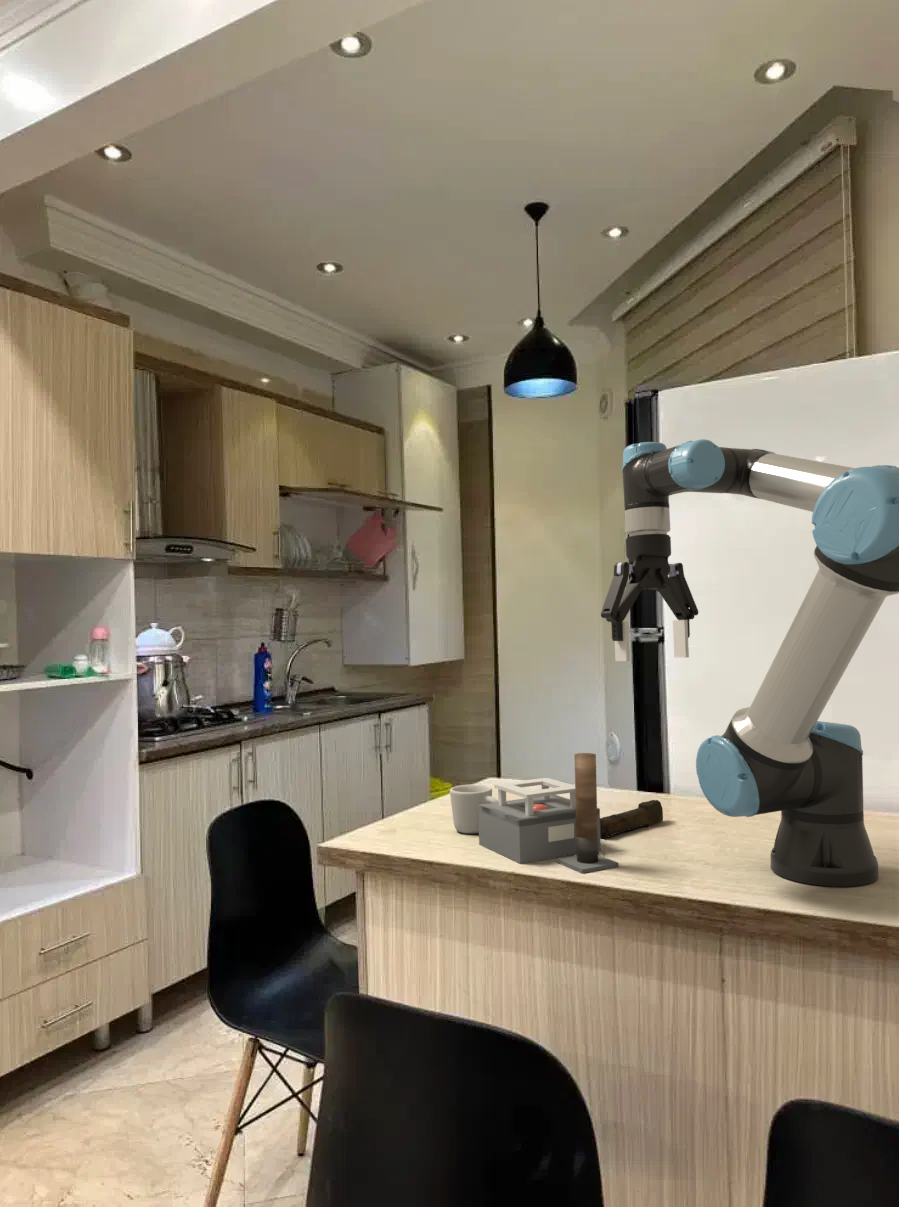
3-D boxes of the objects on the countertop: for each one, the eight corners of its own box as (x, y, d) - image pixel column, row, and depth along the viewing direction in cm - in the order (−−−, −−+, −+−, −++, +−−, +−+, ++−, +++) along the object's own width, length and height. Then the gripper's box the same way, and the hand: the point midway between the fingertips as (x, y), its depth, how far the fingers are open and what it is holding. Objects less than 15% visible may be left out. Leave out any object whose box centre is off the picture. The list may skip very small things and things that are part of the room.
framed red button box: (601, 850, 149) (599, 787, 149) (520, 864, 142) (519, 798, 142) (555, 832, 162) (553, 775, 162) (479, 844, 155) (477, 784, 155)
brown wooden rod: (602, 861, 140) (600, 755, 140) (585, 864, 139) (582, 757, 139) (590, 856, 143) (587, 752, 143) (572, 859, 142) (570, 754, 142)
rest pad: (618, 866, 139) (618, 862, 139) (582, 873, 136) (582, 869, 136) (592, 856, 145) (592, 852, 146) (557, 862, 142) (557, 858, 142)
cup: (513, 832, 163) (512, 789, 163) (485, 841, 157) (484, 796, 157) (470, 823, 170) (469, 782, 170) (442, 832, 164) (440, 789, 164)
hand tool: (606, 842, 155) (605, 816, 155) (589, 838, 158) (589, 812, 158) (674, 825, 167) (673, 800, 167) (657, 821, 170) (657, 797, 170)
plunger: (550, 847, 151) (549, 806, 151) (536, 849, 150) (535, 808, 150) (541, 843, 154) (540, 803, 154) (527, 845, 153) (525, 805, 153)
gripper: (683, 539, 159) (688, 655, 159) (576, 535, 146) (581, 662, 146) (715, 534, 153) (721, 656, 152) (606, 530, 140) (611, 662, 139)
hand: (652, 659), depth 149 cm, fingers open, 13 cm apart
